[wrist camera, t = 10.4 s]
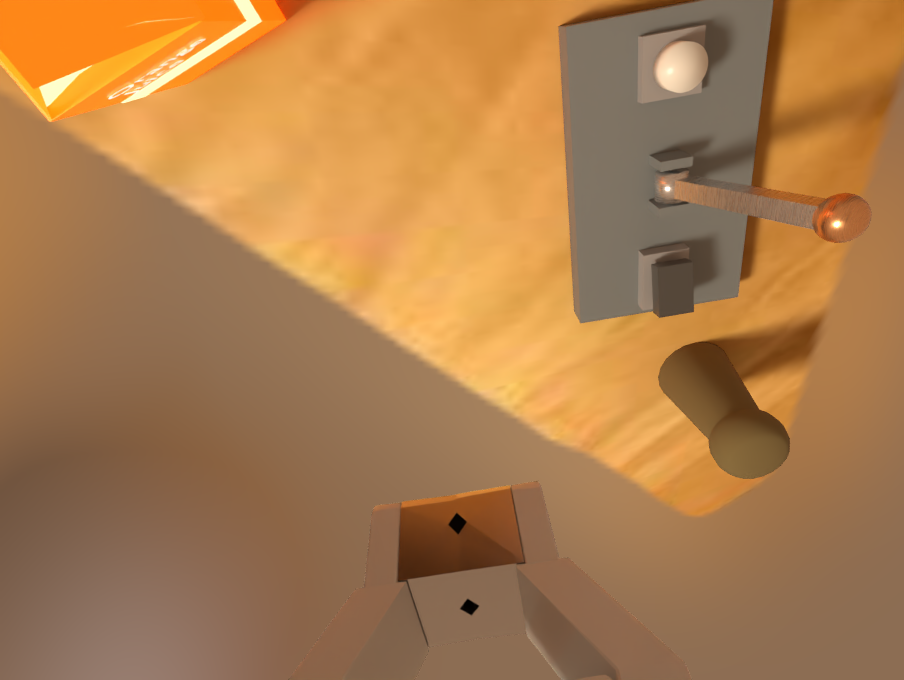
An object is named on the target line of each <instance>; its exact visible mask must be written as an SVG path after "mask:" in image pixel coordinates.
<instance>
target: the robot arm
mask: <svg viewBox="0 0 904 680" xmlns="http://www.w3.org/2000/svg"><path fill="white" fill-rule="evenodd" d="M526 633H527V636H528V637H529V639H530V640H531V641H532V643H533V644H534V645H535V647H536V648H537V649H538V650H539V652H540V653H541V654H542V656H543V657H544V658H545V659H546V660H547V662H548V663H549V664H550V666H551V667H552V668H553V670H554V671H555V672H556V673H557V675H558V676H559V677H560V678H561V680H692V679H691V676H690V674H689V671H688V669H687V666H686V664H685V662H684V661H683V660H682V659H681V658H680V657H679V656H677V654H675V653H674V652H673V651H672V650H671V649H670V648H669V647H668V646H666V645H665V644H664V643H663V642H662V641H661V640H660V639H659V638H657V637H656V636H655V635H654V634H653V633H652V632H651V631H650V630H649V629H648V628H646V627H645V626H644V625H643V624H642V623H641V622H640V621H639V620H638V619H636V618H635V617H634V616H633V615H632V614H631V613H629V611H627V610H626V609H625V608H624V607H623V606H622V605H621V604H620V603H619V602H617V601H616V600H615V599H614V598H613V597H612V596H611V595H610V594H608V593H607V592H606V591H605V590H604V589H603V588H602V587H601V586H599V585H598V584H597V583H596V582H595V581H594V580H593V579H592V578H591V577H590V576H588V575H587V574H586V573H585V572H584V571H583V570H582V569H581V568H579V567H578V566H577V565H576V564H575V563H574V562H573V561H572V560H571V559H569V558H559V554H558V551H557V547H556V543H555V539H554V535H553V531H552V527H551V523H550V519H549V516H548V512H547V508H546V504H545V500H544V496H543V492H542V488H541V485H540V483H539V482H538V481H534V482H528V483H521V484H516V485H511V488H510V485H508V486H502V487H496V488H490V489H484V490H478V491H472V492H466V493H460V494H456V495H451V496H443V497H435V498H427V499H419V500H411V501H404V502H400V503H392V504H384V505H377V506H375V507H374V509H373V512H372V514H371V524H370V534H369V543H368V553H367V563H366V572H365V582H364V587H363V588H358V589H355V590H354V592H353V593H352V594H351V596H350V597H349V598H348V600H347V601H346V602H345V604H344V605H343V606H342V608H341V609H340V610H339V612H338V613H337V615H336V616H335V617H334V619H333V620H332V621H331V623H330V624H329V625H328V627H327V628H326V629H325V631H324V632H323V634H322V635H321V636H320V638H319V639H318V640H317V642H316V643H315V644H314V646H313V647H312V648H311V650H310V651H309V652H308V654H307V655H306V657H305V658H304V659H303V661H302V662H301V663H300V665H299V666H298V667H297V669H296V670H295V671H294V673H293V674H292V675H291V677H290V678H289V679H288V680H415V679H416V677H417V675H418V673H419V671H420V669H421V666H422V664H423V662H424V660H425V658H426V656H427V654H428V652H429V649H428V647H434V646H439V645H445V644H451V643H457V642H463V641H468V640H474V639H482V638H491V637H499V636H508V635H517V634H526Z"/></svg>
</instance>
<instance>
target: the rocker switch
mask: <svg viewBox="0 0 904 680" xmlns="http://www.w3.org/2000/svg"><path fill="white" fill-rule="evenodd" d="M651 271H652V296H653V313H655V314H656V315H657V316H658V317H659V318H660V317H666V316H672V315H678V314H684V313H690V312H694V287H693V262H692V261H690V260H688V259H686V258H683V259H678V260H672V261H666V262H660V263H654V264H651Z"/></svg>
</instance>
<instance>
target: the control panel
mask: <svg viewBox="0 0 904 680" xmlns="http://www.w3.org/2000/svg"><path fill="white" fill-rule="evenodd" d="M772 8H773V0H694V1H689V2H684V3H678V4H673V5H668V6H663V7H657V8H652V9H647V10H642V11H636V12H631V13H626V14H621V15H615V16H610V17H605V18H600V19H594V20H589V21H584V22H579V23H573V24H568V25H563V26H559V43H560V61H561V79H562V98H563V116H564V134H565V152H566V170H567V188H568V207H569V225H570V243H571V261H572V279H573V297H574V312H575V314H576V315H577V317H578V319H579V321H580V323H585V322H591V321H597V320H603V319H609V318H615V317H621V316H627V315H633V314H639V313H645V312H651V311H653V296H652V271H651V264H654V263H660V262H666V261H672V260H678V259H683V258H686V259H688V260H690V261H692V262H693V287H694V304H699V303H705V302H711V301H717V300H723V299H729V298H734V297H738V292H739V283H740V275H741V267H742V258H743V250H744V242H745V233H746V225H747V217H748V215H745V214H741V213H736V212H732V211H727V210H722V209H718V208H713V207H709V206H704V205H700V204H695V203H691V202H686V201H683V202H679V203H674V204H663V203H658V202H656V201H655V200H654V195H655V171H657V170H658V171H660V172H663V171H668V170H674V169H679V168H688V169H689V175H691V176H697V177H703V178H708V179H714V180H720V181H726V182H732V183H738V184H743V185H749V186H751V183H752V175H753V167H754V158H755V150H756V142H757V133H758V125H759V117H760V108H761V100H762V92H763V83H764V75H765V67H766V58H767V50H768V42H769V33H770V25H771V17H772ZM674 41H691V42H696V43H698V44H700V45H701V46H703V48H704V49H705V50H706V53H707V56H708V68H707V71H706V74H705V76H704V78H703V79H702V81H701V82H700V83H699V84H698V85H697V86H696V87H695V88H693V89H692V90H690V91H688V92H684V93H676V92H672V91H669V90H665V89H663V88H661V87H660V86H659V85H658V84H657V83H656V82H655V79H654V76H653V65H654V61H655V59H656V56H657V55H658V53H659V52H660V51H661V49H662V48H663V47H665V46H666V45H667V44H669V43H671V42H674Z"/></svg>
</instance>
